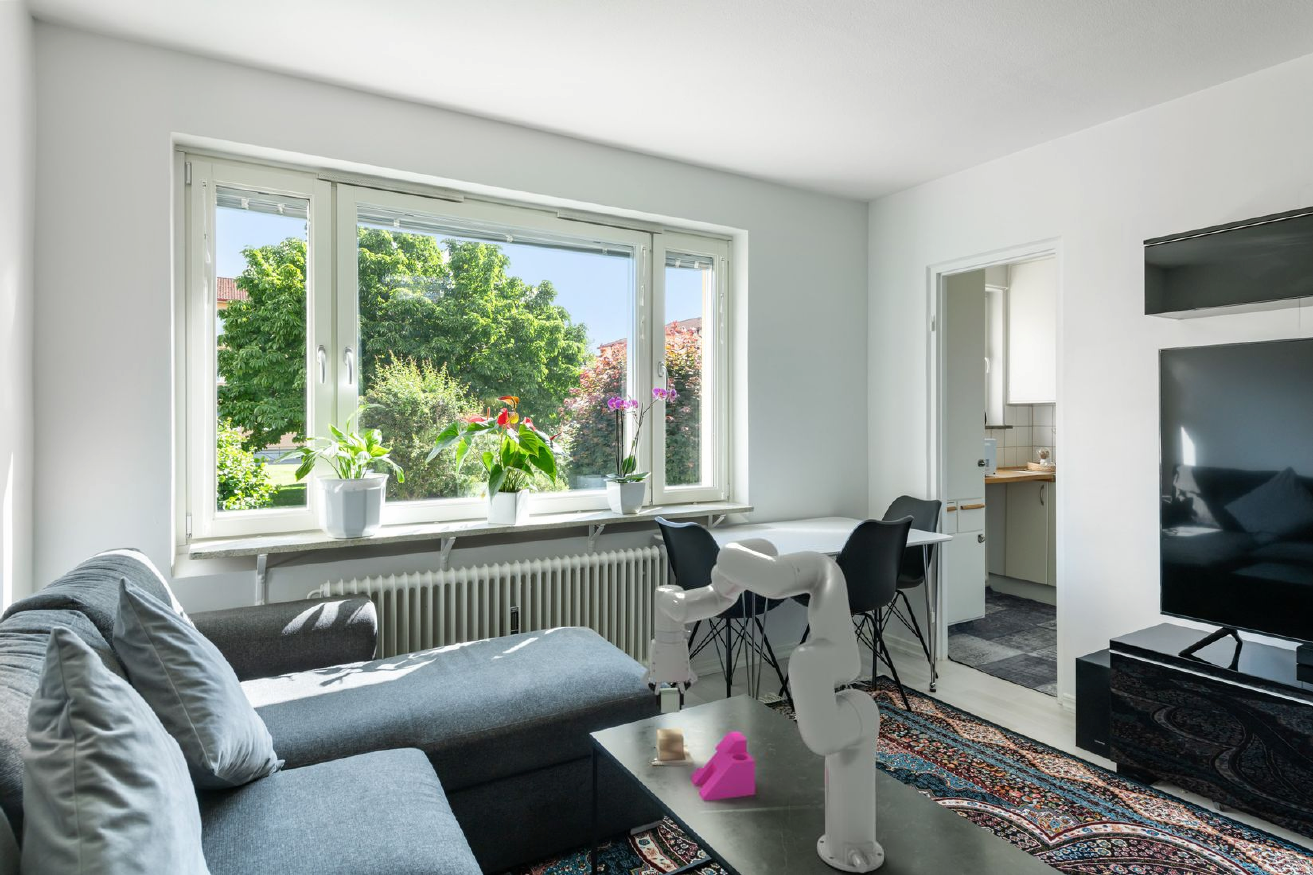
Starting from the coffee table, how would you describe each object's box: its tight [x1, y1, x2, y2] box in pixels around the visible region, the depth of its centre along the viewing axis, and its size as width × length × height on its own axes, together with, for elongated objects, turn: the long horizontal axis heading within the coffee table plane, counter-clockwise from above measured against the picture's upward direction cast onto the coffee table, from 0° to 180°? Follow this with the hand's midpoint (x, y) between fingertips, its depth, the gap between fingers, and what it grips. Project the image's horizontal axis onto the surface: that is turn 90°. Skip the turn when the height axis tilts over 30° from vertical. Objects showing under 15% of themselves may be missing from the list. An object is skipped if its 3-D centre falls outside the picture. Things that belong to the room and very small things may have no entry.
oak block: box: [656, 728, 685, 760], centre depth 180 cm, size 6×6×5 cm
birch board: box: [651, 744, 694, 766], centre depth 180 cm, size 10×10×1 cm
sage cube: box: [660, 687, 680, 714], centre depth 180 cm, size 4×4×4 cm
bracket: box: [690, 731, 756, 802], centre depth 165 cm, size 12×10×10 cm
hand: (669, 707), depth 180 cm, fingers closed on sage cube, 4 cm apart
